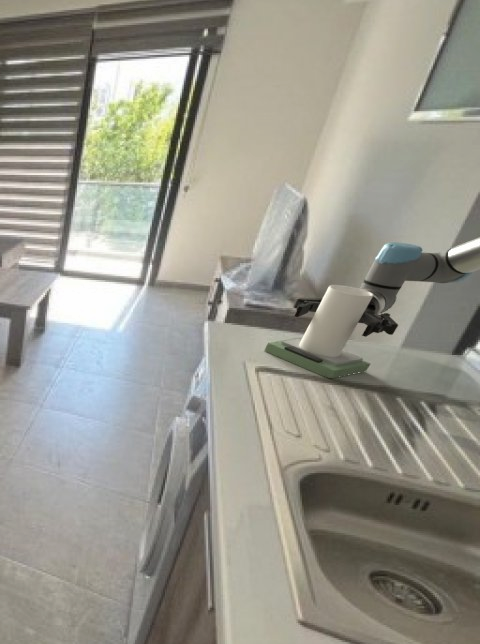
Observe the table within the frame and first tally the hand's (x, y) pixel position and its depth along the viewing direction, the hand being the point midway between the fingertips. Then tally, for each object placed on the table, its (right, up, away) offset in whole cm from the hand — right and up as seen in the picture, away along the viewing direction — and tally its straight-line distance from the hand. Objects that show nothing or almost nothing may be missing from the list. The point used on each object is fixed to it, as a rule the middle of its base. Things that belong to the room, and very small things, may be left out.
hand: (331, 320), depth 117 cm
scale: (+2, -10, +7) cm, 12 cm away
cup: (+2, -7, +6) cm, 10 cm away
